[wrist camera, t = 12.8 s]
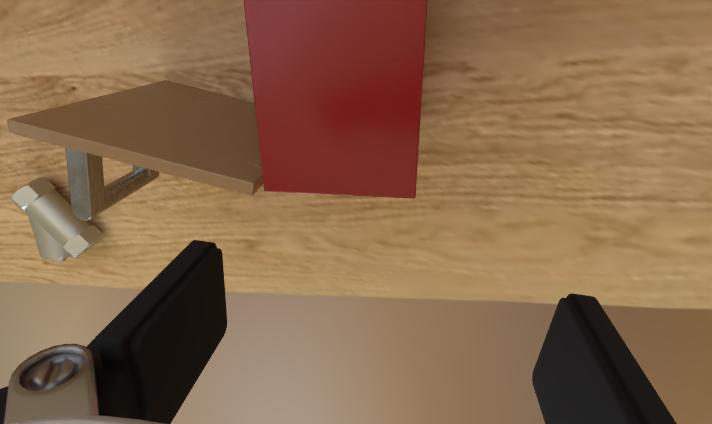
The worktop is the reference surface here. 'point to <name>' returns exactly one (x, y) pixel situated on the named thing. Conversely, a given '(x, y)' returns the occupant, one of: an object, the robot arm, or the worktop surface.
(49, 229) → the pipe fitting
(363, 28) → the valve cabinet
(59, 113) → the cabinet door
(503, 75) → the worktop surface
